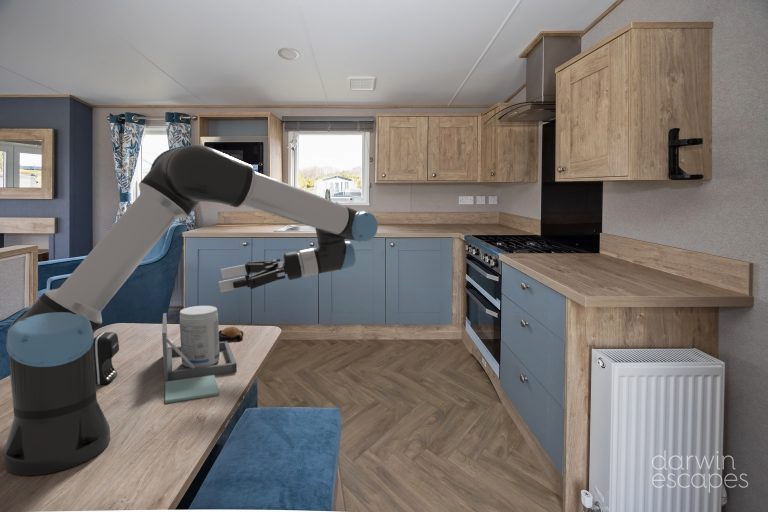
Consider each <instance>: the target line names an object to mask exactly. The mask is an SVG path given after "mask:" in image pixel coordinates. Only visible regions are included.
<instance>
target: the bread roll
mask: <svg viewBox="0 0 768 512" xmlns="http://www.w3.org/2000/svg"><path fill="white" fill-rule="evenodd" d="M243 338H244V332H243V330H240V329H239V328H237V327H236V326H229V327H228V326H227V327H226V328H223V329H221V330H220V329H219V342H224V341H228V344H229V343H238V342H243V340H244V339H243Z"/></svg>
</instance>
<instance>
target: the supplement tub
mask: <svg viewBox="0 0 768 512" xmlns="http://www.w3.org/2000/svg"><path fill="white" fill-rule="evenodd" d="M179 330H180V331H179V334H180V335H179V336H180V346H181V352H182V353H183V355H184V356H185V357H186V358H187V359H188V360H189V361H190V362H191V363H192V364H193V365H194V367H195V368H197V367H205V366H213V365H216V364H217V362H219V360H220V350H219V331H220V329H219V313H218V308H217V307H216V306H213V305H196V306H195V305H194V306H190V307H185V308H182V309H180V311H179ZM181 364H182V365H183V366H185V367H186V368H189V369H190V368H191V367H190V366H189V365H188V364H187V363H186V362H185V361H184V360H183V359H182V358H181Z"/></svg>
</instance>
